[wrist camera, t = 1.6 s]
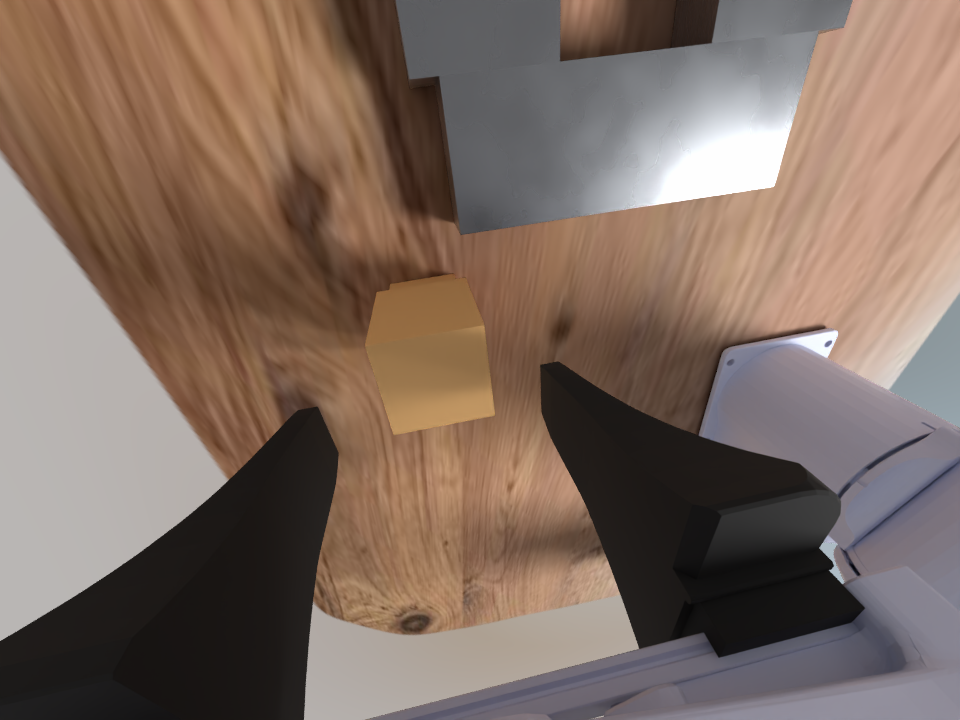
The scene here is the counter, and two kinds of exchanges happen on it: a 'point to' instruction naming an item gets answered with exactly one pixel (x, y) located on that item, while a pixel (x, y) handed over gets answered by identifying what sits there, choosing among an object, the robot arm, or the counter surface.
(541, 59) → the grey mounting plate
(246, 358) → the counter surface
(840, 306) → the counter surface
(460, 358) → the wedge pin
